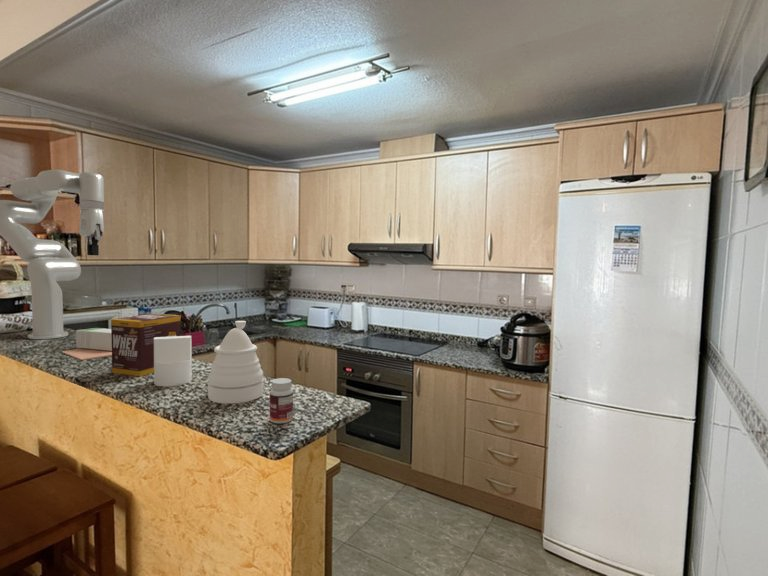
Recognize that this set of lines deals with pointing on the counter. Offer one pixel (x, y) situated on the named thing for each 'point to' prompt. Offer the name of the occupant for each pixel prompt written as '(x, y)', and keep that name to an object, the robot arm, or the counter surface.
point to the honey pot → (235, 369)
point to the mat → (87, 353)
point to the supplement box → (139, 341)
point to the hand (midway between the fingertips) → (93, 255)
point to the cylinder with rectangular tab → (172, 360)
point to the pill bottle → (281, 401)
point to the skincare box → (94, 339)
